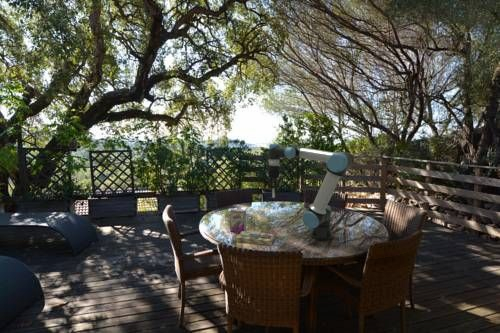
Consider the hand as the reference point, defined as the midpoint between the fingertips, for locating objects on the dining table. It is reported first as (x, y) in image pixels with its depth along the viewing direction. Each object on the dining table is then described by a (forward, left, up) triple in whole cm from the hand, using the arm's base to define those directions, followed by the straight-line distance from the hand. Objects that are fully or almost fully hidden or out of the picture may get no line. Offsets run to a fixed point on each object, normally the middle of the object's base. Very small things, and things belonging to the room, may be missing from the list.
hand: (273, 197), depth 228 cm
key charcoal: (+1, +20, -26) cm, 32 cm away
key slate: (+8, +20, -24) cm, 32 cm away
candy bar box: (+25, +6, -27) cm, 37 cm away
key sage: (+15, +20, -26) cm, 36 cm away
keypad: (+8, +20, -26) cm, 34 cm away
